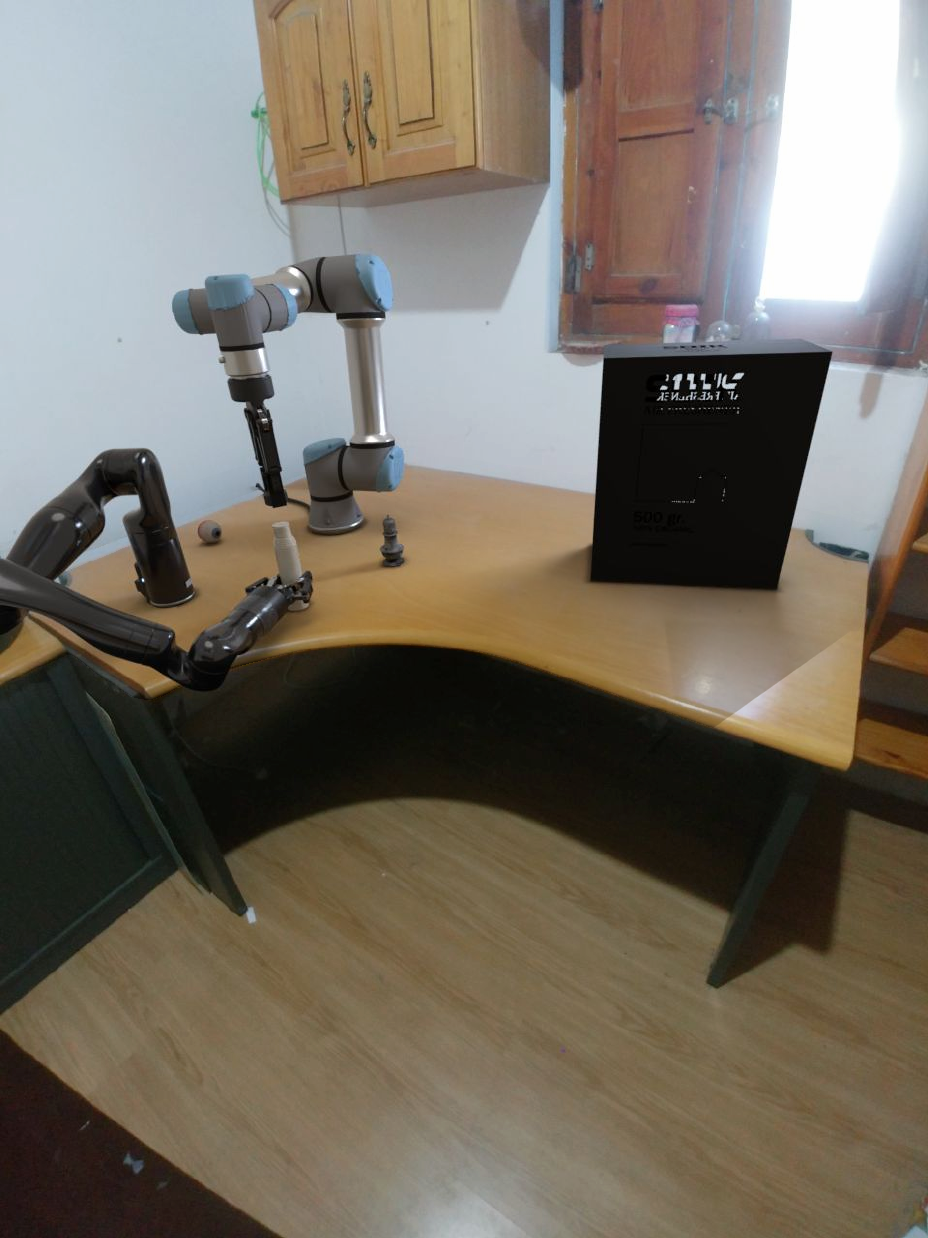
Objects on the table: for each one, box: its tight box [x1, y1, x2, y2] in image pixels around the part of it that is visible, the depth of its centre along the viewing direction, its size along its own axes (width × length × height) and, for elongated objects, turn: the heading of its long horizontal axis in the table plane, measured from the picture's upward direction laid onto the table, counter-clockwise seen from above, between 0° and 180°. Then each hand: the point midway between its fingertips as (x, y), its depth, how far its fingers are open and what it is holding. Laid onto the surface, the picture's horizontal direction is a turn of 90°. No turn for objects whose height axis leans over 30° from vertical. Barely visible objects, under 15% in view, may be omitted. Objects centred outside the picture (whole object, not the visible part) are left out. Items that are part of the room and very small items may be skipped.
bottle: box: [272, 521, 310, 612], centre depth 124 cm, size 5×5×18 cm
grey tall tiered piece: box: [379, 514, 405, 567], centre depth 143 cm, size 6×6×12 cm
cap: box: [262, 488, 289, 507], centre depth 117 cm, size 4×4×2 cm
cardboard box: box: [589, 338, 834, 590], centre depth 125 cm, size 38×20×45 cm, turn 78°
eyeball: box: [197, 519, 223, 544], centre depth 161 cm, size 6×6×6 cm
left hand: (298, 574), depth 128 cm, fingers closed on bottle, 4 cm apart
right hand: (276, 502), depth 118 cm, fingers closed on cap, 4 cm apart
